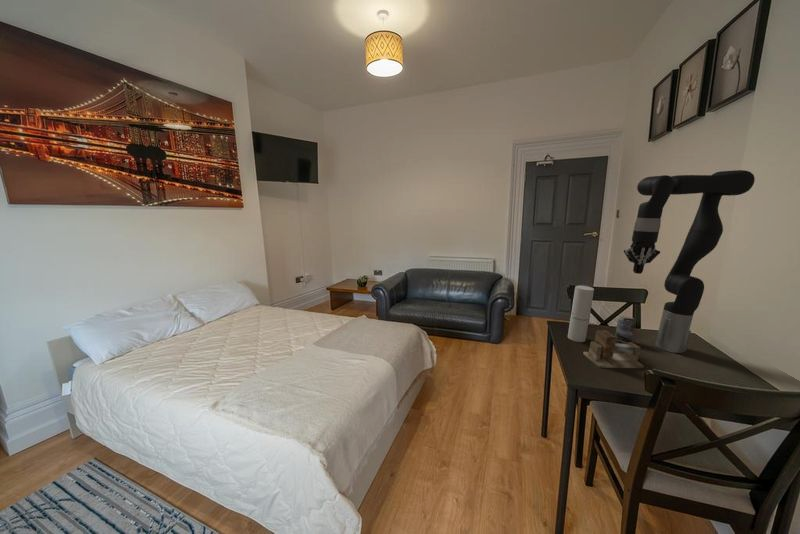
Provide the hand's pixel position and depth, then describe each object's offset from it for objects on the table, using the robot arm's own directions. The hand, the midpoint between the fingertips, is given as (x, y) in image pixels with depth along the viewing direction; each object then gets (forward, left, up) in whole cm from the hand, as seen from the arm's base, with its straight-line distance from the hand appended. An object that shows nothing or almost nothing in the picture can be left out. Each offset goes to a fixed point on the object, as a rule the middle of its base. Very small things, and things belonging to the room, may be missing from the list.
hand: (637, 273), depth 112 cm
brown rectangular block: (+13, +7, -33) cm, 36 cm away
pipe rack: (+9, +7, -35) cm, 37 cm away
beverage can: (-8, -10, -35) cm, 37 cm away
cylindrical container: (+12, -12, -35) cm, 39 cm away
